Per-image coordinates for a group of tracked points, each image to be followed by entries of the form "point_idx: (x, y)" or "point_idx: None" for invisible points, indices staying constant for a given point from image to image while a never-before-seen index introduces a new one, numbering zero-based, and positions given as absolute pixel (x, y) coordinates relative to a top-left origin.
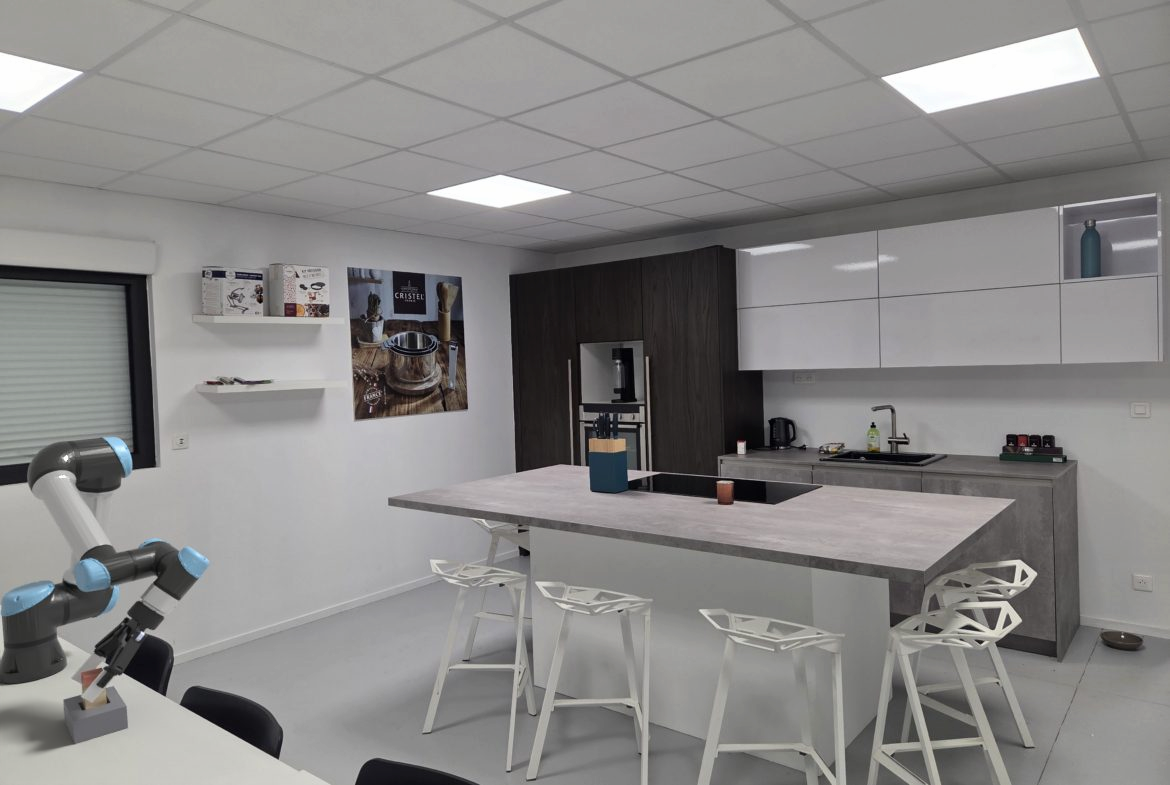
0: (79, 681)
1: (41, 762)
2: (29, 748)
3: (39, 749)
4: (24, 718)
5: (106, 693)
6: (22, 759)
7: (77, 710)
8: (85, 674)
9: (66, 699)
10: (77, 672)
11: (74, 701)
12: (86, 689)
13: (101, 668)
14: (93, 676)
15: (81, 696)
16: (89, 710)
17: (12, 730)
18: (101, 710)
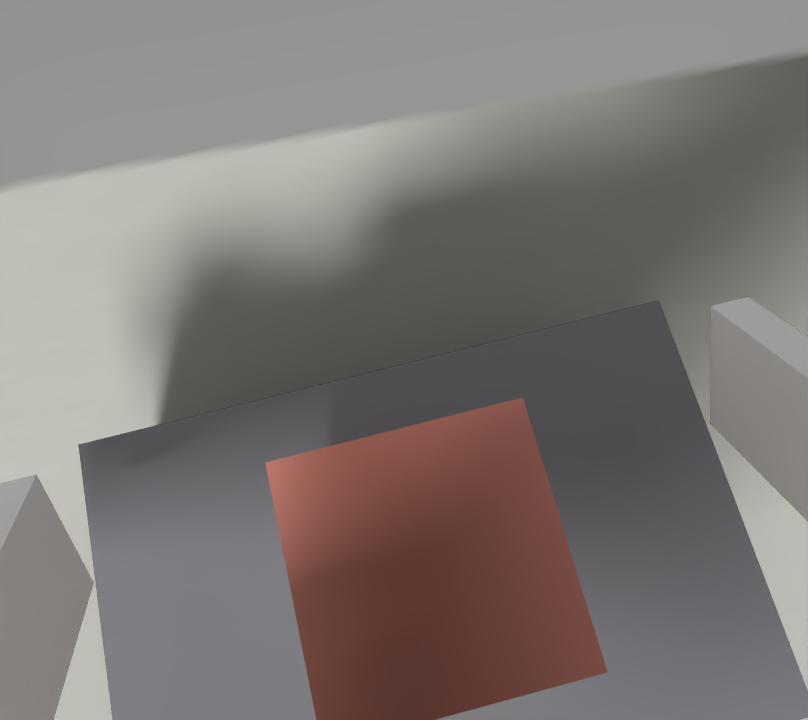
0: (716, 392)
1: (18, 321)
2: (280, 227)
3: (227, 281)
4: (797, 123)
5: (621, 661)
6: (139, 218)
7: (317, 446)
8: (399, 468)
9: (645, 325)
10: (757, 345)
11: (559, 395)
12: (4, 532)
13: (555, 677)
14: (294, 586)
15: (4, 485)
16: (252, 548)
17: (627, 96)
18: (176, 657)
